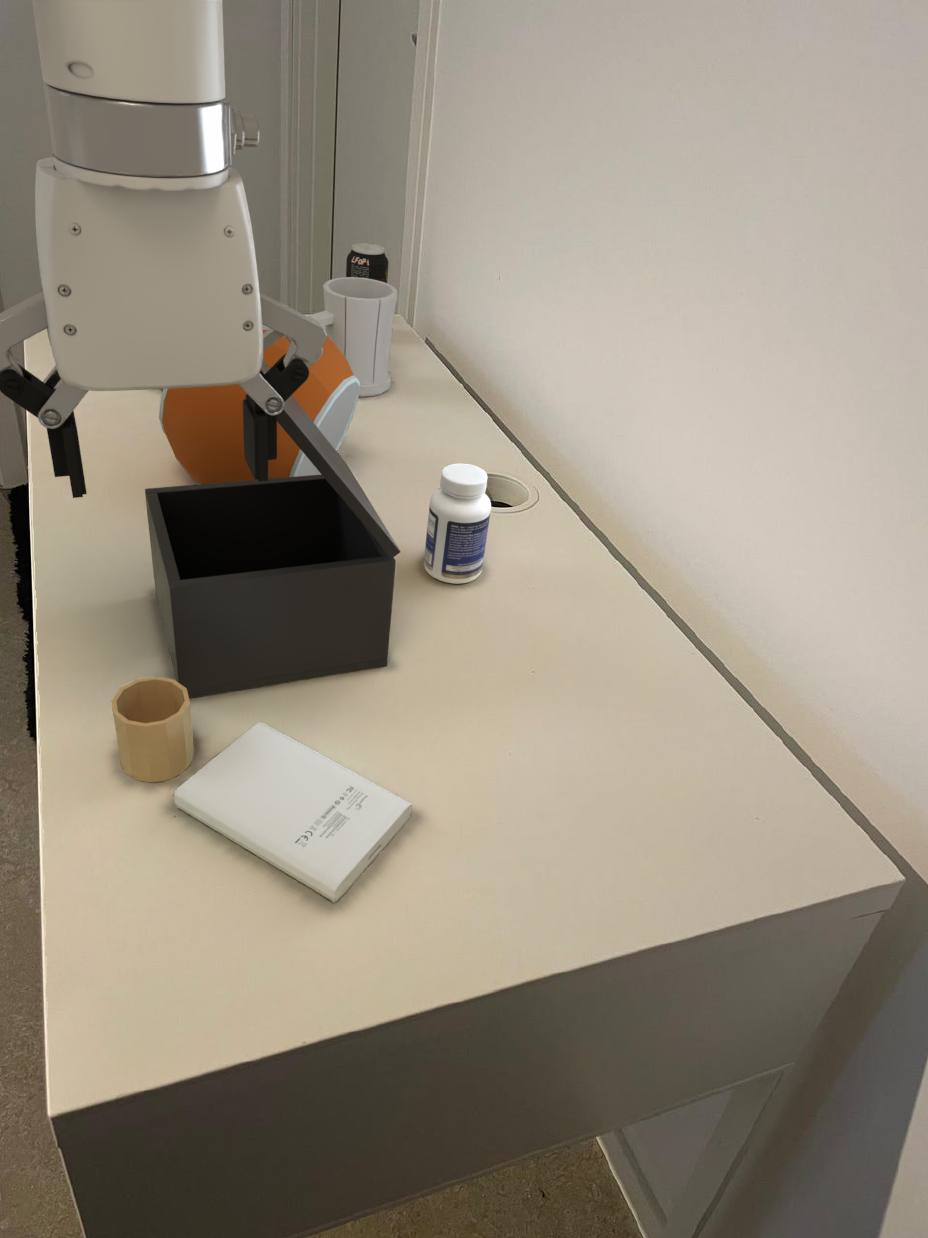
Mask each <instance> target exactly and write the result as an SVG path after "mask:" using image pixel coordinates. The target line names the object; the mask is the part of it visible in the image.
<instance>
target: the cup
mask: <svg viewBox="0 0 928 1238" xmlns="http://www.w3.org/2000/svg"><path fill="white" fill-rule="evenodd" d="M322 287H323V303H324V304H323V305H324V310H322V311H319V312H316V313H312V314H309V315H308V317H309V318H311V319H313V320H315V321H317V322H318V323H319V324H320V325H321V327H322V328H323V327H324V328H325V329H324V330H325V332H326V334H327V335H328V337H329V338H330V339H331V340H332V341H333V343H334V344H335V345H336V346H337V348H338V349H339V350H340V351H341V352H342V354H343V355H344V357H345V358H346V360H347V361H348V363H349V365H350V367H351V370H352V372H353V374H354V376H355V377H356V378H357V379H358V381H359V382H360V388H359V397H360V398H365V397H366V398H367V397H374V396H379V395H382V394H383V393H384V392H386V391H388V390H389V389H390V387H391V386H392V374H391V373H392V372H391V371H390V370H389V367H390V355H391V345H392V335H393V329H394V321H395V313H396V306H397V301H398V290H397V288H396V287H394V286H393V285H391V284H390V283H388V282H387V283H385V282H381V281H377V280H373V279H367V278H357V277H346V276H345V277H335V278H331V279H329V280H327V281H326V282H324V283H323V285H322ZM359 397H358V398H359Z"/></svg>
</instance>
